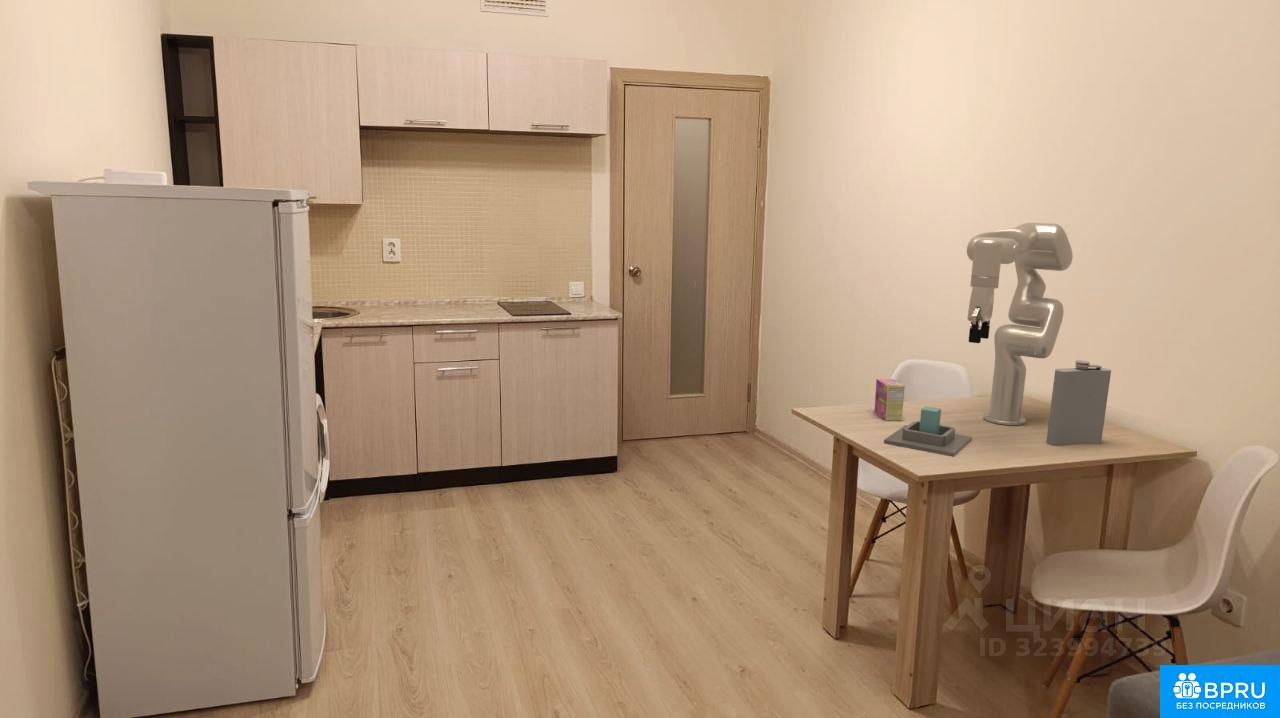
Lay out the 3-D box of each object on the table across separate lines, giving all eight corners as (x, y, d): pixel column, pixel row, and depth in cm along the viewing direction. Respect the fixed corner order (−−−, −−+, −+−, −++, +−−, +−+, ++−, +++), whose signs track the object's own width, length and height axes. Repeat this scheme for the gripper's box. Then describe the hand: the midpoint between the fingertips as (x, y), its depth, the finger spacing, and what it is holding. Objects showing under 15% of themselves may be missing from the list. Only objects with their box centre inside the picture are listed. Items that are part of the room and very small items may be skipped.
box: (873, 412, 281) (876, 378, 279) (890, 412, 282) (893, 378, 279) (884, 421, 271) (887, 385, 269) (902, 421, 272) (905, 385, 269)
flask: (1092, 439, 256) (1103, 358, 251) (1103, 443, 251) (1114, 362, 246) (1041, 441, 253) (1051, 359, 248) (1051, 446, 248) (1062, 363, 243)
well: (905, 428, 263) (906, 415, 262) (971, 440, 252) (972, 427, 251) (883, 443, 247) (884, 429, 246) (953, 456, 236) (955, 442, 235)
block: (923, 435, 253) (925, 406, 251) (938, 438, 250) (941, 408, 248) (918, 438, 249) (921, 409, 247) (933, 441, 246) (936, 411, 245)
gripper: (978, 278, 252) (972, 335, 256) (963, 283, 238) (957, 342, 242) (1005, 280, 248) (998, 338, 252) (991, 285, 234) (984, 346, 238)
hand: (978, 340), depth 247 cm, fingers open, 9 cm apart
